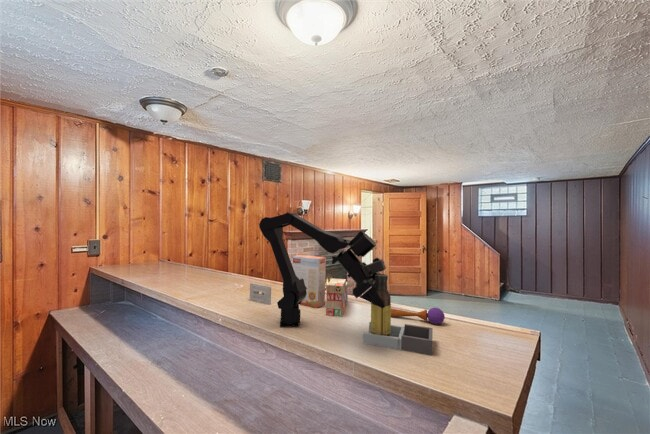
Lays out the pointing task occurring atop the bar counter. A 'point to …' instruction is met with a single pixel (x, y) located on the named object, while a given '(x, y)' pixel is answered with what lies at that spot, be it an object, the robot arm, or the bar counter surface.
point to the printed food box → (336, 297)
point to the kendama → (422, 315)
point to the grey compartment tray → (403, 338)
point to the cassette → (260, 298)
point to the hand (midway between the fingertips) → (385, 304)
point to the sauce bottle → (378, 314)
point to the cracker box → (311, 278)
